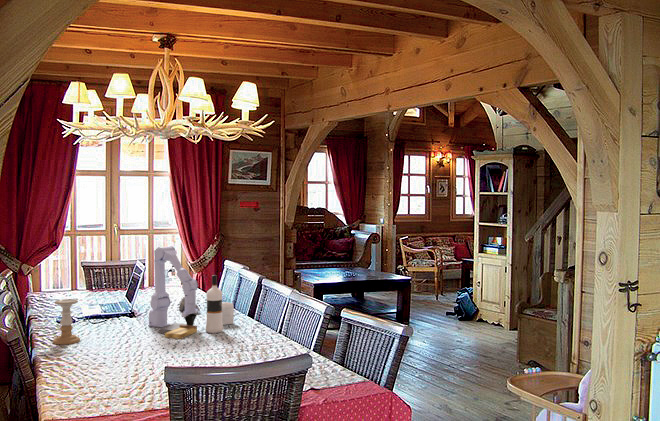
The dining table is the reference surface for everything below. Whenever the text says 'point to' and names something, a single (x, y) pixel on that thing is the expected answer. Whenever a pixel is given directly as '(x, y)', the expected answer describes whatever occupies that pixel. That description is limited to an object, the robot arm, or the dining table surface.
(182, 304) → the mineral rock
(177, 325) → the grey flat block
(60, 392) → the dining table surface
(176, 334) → the tan wooden flat block
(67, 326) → the candle holder
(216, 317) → the vodka
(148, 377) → the dining table surface
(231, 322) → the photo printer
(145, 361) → the dining table surface
